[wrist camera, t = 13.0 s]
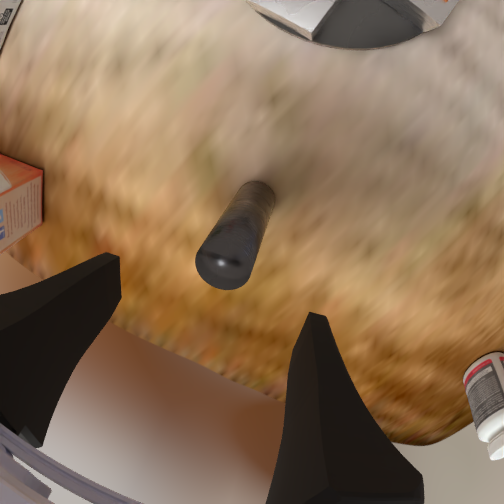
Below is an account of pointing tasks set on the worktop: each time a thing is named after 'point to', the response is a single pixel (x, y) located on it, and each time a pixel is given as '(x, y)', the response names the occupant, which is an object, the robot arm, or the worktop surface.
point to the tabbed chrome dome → (324, 3)
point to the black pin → (236, 238)
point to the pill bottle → (487, 400)
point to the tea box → (6, 16)
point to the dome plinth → (359, 26)
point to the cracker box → (18, 201)
